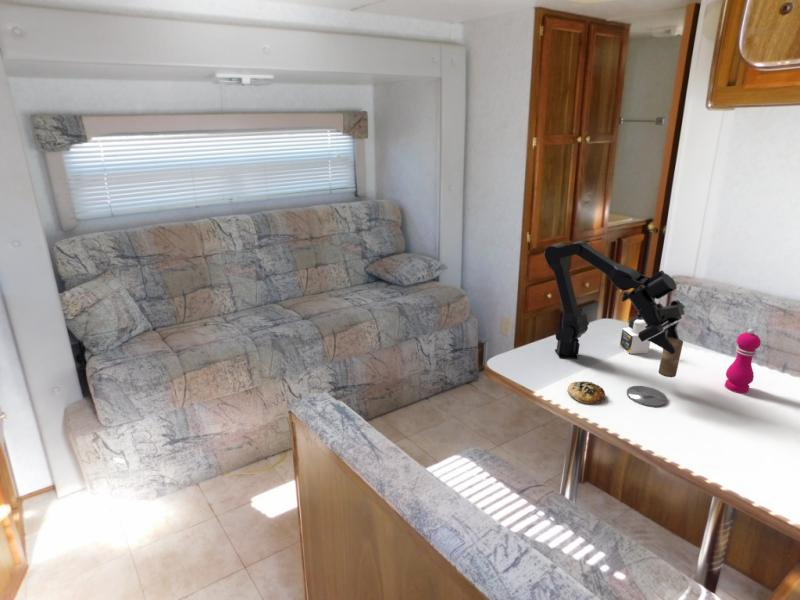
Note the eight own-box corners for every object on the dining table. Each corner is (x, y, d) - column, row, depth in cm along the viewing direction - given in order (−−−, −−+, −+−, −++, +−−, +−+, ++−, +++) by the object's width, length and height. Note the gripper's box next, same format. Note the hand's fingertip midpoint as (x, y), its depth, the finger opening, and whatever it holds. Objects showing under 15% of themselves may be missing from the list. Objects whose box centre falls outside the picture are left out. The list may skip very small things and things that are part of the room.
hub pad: (636, 406, 153) (636, 404, 153) (620, 387, 163) (620, 385, 163) (673, 406, 153) (674, 404, 153) (655, 388, 163) (656, 385, 163)
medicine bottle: (619, 345, 193) (624, 315, 189) (637, 345, 194) (643, 314, 190) (629, 354, 187) (635, 322, 183) (648, 353, 188) (654, 322, 184)
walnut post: (662, 376, 159) (669, 343, 155) (656, 369, 164) (662, 336, 160) (678, 377, 159) (685, 344, 155) (672, 370, 163) (679, 337, 160)
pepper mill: (748, 385, 166) (764, 326, 160) (751, 396, 160) (768, 335, 153) (721, 380, 169) (736, 322, 162) (724, 390, 163) (739, 330, 156)
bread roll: (611, 394, 159) (612, 380, 157) (595, 413, 152) (596, 398, 150) (576, 383, 166) (576, 369, 164) (559, 400, 159) (559, 386, 157)
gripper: (656, 300, 149) (690, 348, 146) (680, 286, 162) (712, 330, 158) (624, 318, 157) (655, 364, 153) (650, 304, 170) (679, 346, 166)
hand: (677, 350), depth 158 cm, fingers closed on walnut post, 5 cm apart
